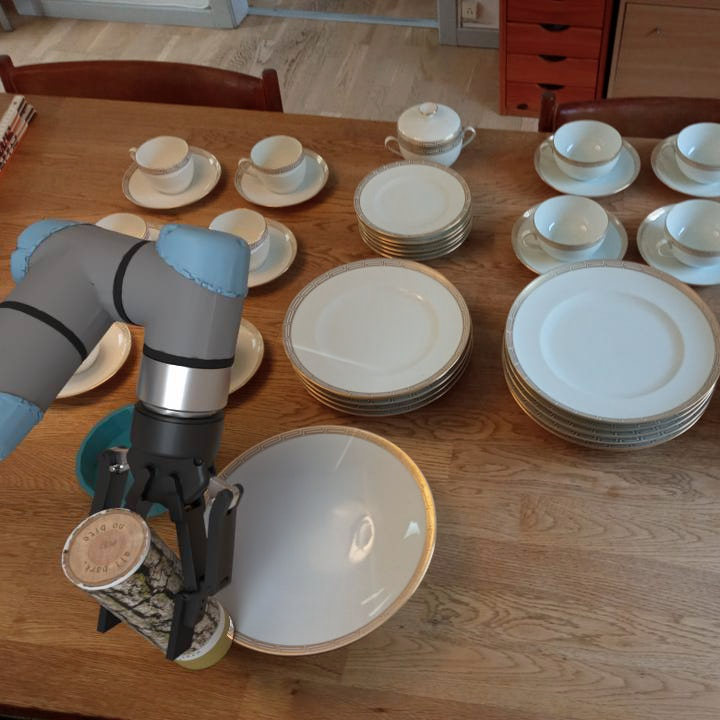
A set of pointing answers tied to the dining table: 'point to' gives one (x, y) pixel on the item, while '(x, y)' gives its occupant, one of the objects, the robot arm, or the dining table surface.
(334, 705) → the dining table surface
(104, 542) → the paper tube
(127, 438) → the bowl
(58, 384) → the robot arm
